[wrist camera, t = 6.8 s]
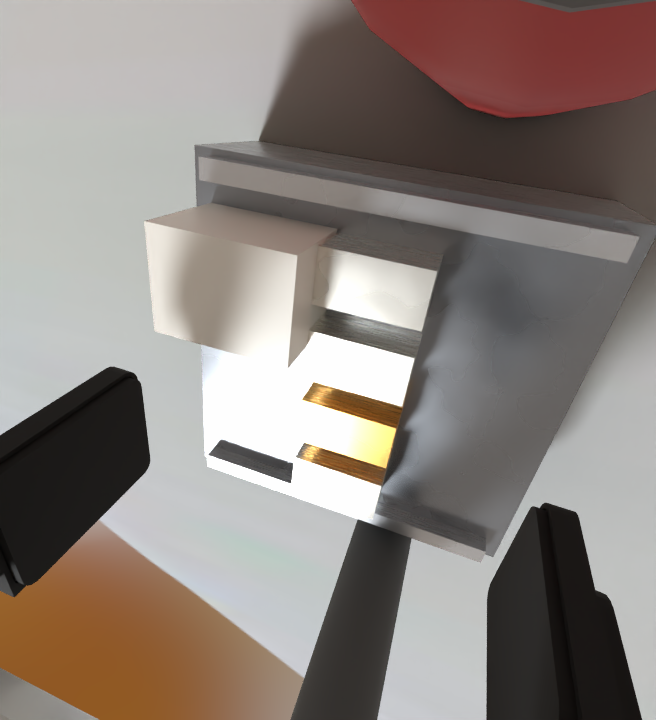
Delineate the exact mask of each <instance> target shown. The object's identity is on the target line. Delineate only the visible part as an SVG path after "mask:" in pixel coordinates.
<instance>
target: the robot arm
mask: <svg viewBox="0 0 656 720" xmlns="http://www.w3.org/2000/svg"><path fill="white" fill-rule="evenodd" d="M149 464H150V453H149V445H148V436H147V428H146V420H145V412H144V403H143V395H142V387H141V383H140V382H139V381H138V379H137V376H136V375H135V374H134V373H132V372H129V371H126V370H123V369H120V368H116V367H108V368H106V369H105V370H103V371H101V372H100V373H98V374H97V375H95V376H93V377H92V378H90V379H89V380H87V381H86V382H84V383H82V384H81V385H79V386H78V387H76V388H74V389H73V390H71V391H70V392H68V393H67V394H65V395H63V396H62V397H60V398H59V399H57V400H55V401H54V402H52V403H51V404H49V405H48V406H46V407H44V408H43V409H41V410H40V411H38V412H36V413H35V414H33V415H32V416H30V417H29V418H27V419H25V420H24V421H22V422H21V423H19V424H17V425H16V426H14V427H13V428H11V429H10V430H8V431H6V432H5V433H3V434H2V435H0V591H2V592H4V593H6V594H8V595H10V596H12V597H15V596H16V595H17V594H18V593H19V592H20V591H21V590H22V589H23V588H24V587H25V586H26V585H27V586H28V585H32V584H33V583H35V582H36V581H38V579H40V578H41V577H42V576H43V575H44V574H45V573H46V572H47V571H48V570H49V569H50V568H51V567H52V566H53V565H54V564H55V563H56V562H57V561H58V560H59V559H60V558H61V557H62V556H63V555H64V554H65V553H66V552H67V551H68V550H69V548H71V547H72V546H73V545H74V544H75V543H76V542H77V541H78V540H79V539H80V538H81V537H82V536H83V535H84V534H85V532H87V530H89V528H91V527H92V526H93V525H94V524H95V522H97V521H98V520H99V519H100V518H101V517H102V516H103V515H104V514H105V513H106V512H107V511H108V510H109V509H110V508H111V507H112V506H113V505H114V504H115V503H116V501H117V500H118V499H119V498H120V497H121V496H122V495H123V494H124V493H125V492H126V491H127V490H128V489H129V488H130V487H131V486H132V485H133V484H134V483H135V482H136V481H137V480H138V479H139V478H140V477H141V476H142V475H143V474H144V473H145V472H146V471H147V469H148V467H149ZM0 720H98V719H96V718H94V717H93V716H91V715H89V714H87V713H85V712H83V711H81V710H79V709H77V708H76V707H74V706H72V705H70V704H68V703H66V702H64V701H62V700H60V699H58V698H57V697H55V696H53V695H51V694H49V693H47V692H45V691H43V690H41V689H39V688H38V687H36V686H33V685H32V684H30V683H28V682H26V681H24V680H22V679H20V678H18V677H16V676H14V675H13V674H11V673H9V672H7V671H5V670H3V669H1V668H0ZM487 720H642V718H641V714H640V710H639V706H638V702H637V698H636V694H635V691H634V687H633V683H632V679H631V675H630V671H629V667H628V663H627V659H626V655H625V651H624V648H623V644H622V640H621V636H620V632H619V628H618V624H617V620H616V616H615V612H614V609H613V606H612V604H611V601H610V599H609V598H608V597H607V595H606V594H603V593H601V592H599V591H596V590H595V587H594V583H593V578H592V574H591V570H590V565H589V561H588V556H587V552H586V548H585V543H584V539H583V534H582V530H581V526H580V521H579V517H578V515H577V513H576V512H574V511H571V510H568V509H564V508H561V507H558V506H555V505H552V504H549V503H544V504H542V506H541V507H540V508H537V507H534V506H533V507H531V508H530V510H529V512H528V514H527V515H526V517H525V519H524V521H523V523H522V525H521V527H520V529H519V531H518V532H517V534H516V536H515V538H514V540H513V542H512V544H511V546H510V548H509V549H508V551H507V553H506V555H505V557H504V559H503V561H502V563H501V565H500V566H499V568H498V570H497V572H496V574H495V576H494V578H493V580H492V582H491V584H490V587H489V591H488V597H487Z"/></svg>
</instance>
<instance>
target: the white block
mask: <svg viewBox="0 0 656 720" xmlns="http://www.w3.org/2000/svg"><path fill="white" fill-rule="evenodd" d="M144 224H145V235H146V246H147V256H148V267H149V278H150V288H151V299H152V309H153V320H154V331H156V332H159V333H163V334H166V335H170V336H173V337H177V338H180V339H184V340H187V341H191V342H194V343H198V344H201V345H205V346H208V347H212V348H215V349H218V350H222V351H225V352H229V353H232V354H236V355H239V356H243V357H246V358H250V359H253V360H257V361H260V362H264V363H267V364H271V365H274V366H278V367H281V368H285V369H288V368H289V367H290V366H291V365H292V363H293V362H294V361H295V360H296V359H297V357H298V356H299V355H300V354H301V353H302V351H303V350H304V349H305V348H306V347H307V341H308V331H309V330H310V328H311V327H312V326H313V325H314V324H315V323H316V322H317V321H318V319H319V318H320V317H321V316H322V315H323V314H324V313H325V312H326V310H327V308H325V307H321V306H317V305H313V304H312V295H313V286H314V277H315V268H316V259H317V250H318V245H319V244H321V243H322V242H324V241H325V240H327V239H328V238H330V237H331V236H332V235H334V234H335V233H337V229H336V228H331V227H326V226H321V225H316V224H312V223H307V222H302V221H297V220H292V219H287V218H282V217H278V216H273V215H268V214H263V213H258V212H253V211H248V210H244V209H239V208H234V207H229V206H224V205H219V204H215V203H209V204H205V205H201V206H198V207H194V208H190V209H187V210H183V211H179V212H176V213H172V214H169V215H165V216H161V217H158V218H154V219H150V220H147V221H144Z"/></svg>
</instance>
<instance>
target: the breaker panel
mask: <svg viewBox="0 0 656 720" xmlns="http://www.w3.org/2000/svg"><path fill="white" fill-rule="evenodd" d="M195 168H196V199H197V207H198V206H201V205H205V204H209V203H215V204H219V205H224V206H229V207H234V208H239V209H244V210H248V211H253V212H258V213H263V214H268V215H273V216H278V217H282V218H287V219H292V220H297V221H302V222H307V223H312V224H316V225H321V226H326V227H331V228H336V229H337V233H335V234H334V235H332V236H331V237H330V238H328V239H327V240H325V241H324V242H322V243H321V244H319V245H318V250H317V259H316V268H315V277H314V286H313V295H312V304H313V305H317V306H321V307H325V308H327V310H326V312H325V313H324V314H323V315H322V316H321V317H320V318H319V319H318V321H317V322H316V323H315V324H314V325H313V326H312V327H311V328H310V330H309V331H308V341H307V347H306V348H305V349H304V350H303V351H302V353H301V354H300V355H299V356H298V357H297V359H296V360H295V361H294V362H293V363H292V365H291V366H290V367H289V368H288V369H285V368H281V367H278V366H274V365H271V364H267V363H264V362H260V361H257V360H253V359H250V358H246V357H243V356H239V355H236V354H232V353H229V352H225V351H222V350H218V349H215V348H212V347H208V346H205V345H201V351H202V382H203V412H204V443H205V457H207V466H209V467H212V468H215V469H217V470H220V471H223V472H226V473H229V474H232V475H234V476H237V477H240V478H243V479H246V480H249V481H251V482H254V483H257V484H260V485H263V486H266V487H268V488H271V489H274V490H277V491H280V492H282V493H285V494H288V495H291V496H294V497H297V498H299V499H302V500H305V501H308V502H311V503H314V504H316V505H319V506H322V507H325V508H328V509H331V510H333V511H336V512H339V513H342V514H345V515H348V516H350V517H353V518H356V519H359V520H362V521H364V522H367V523H370V524H373V525H376V526H379V527H381V528H384V529H387V530H390V531H393V532H396V533H398V534H401V535H404V536H407V537H410V538H413V539H415V540H418V541H421V542H424V543H427V544H429V545H432V546H435V547H438V548H441V549H444V550H446V551H449V552H452V553H455V554H458V555H461V556H463V557H466V558H469V559H472V560H475V561H478V562H480V563H481V561H482V559H483V557H484V555H485V554H486V555H489V556H492V557H493V556H494V554H495V552H496V550H497V549H498V547H499V545H500V543H501V541H502V539H503V537H504V535H505V533H506V531H507V529H508V527H509V525H510V523H511V521H512V519H513V517H514V515H515V513H516V511H517V509H518V507H519V505H520V503H521V501H522V499H523V497H524V495H525V493H526V491H527V489H528V487H529V485H530V483H531V481H532V480H533V478H534V476H535V474H536V472H537V470H538V468H539V466H540V464H541V462H542V460H543V458H544V456H545V454H546V452H547V450H548V448H549V446H550V444H551V442H552V440H553V438H554V436H555V434H556V432H557V430H558V428H559V426H560V424H561V422H562V420H563V418H564V416H565V414H566V413H567V411H568V409H569V407H570V405H571V403H572V401H573V399H574V397H575V395H576V393H577V391H578V389H579V387H580V385H581V383H582V381H583V379H584V377H585V375H586V373H587V371H588V369H589V367H590V365H591V363H592V361H593V359H594V357H595V355H596V353H597V351H598V349H599V347H600V346H601V344H602V342H603V340H604V338H605V336H606V334H607V332H608V330H609V328H610V326H611V324H612V322H613V320H614V318H615V316H616V314H617V312H618V310H619V308H620V306H621V304H622V302H623V300H624V298H625V296H626V294H627V292H628V290H629V288H630V286H631V284H632V282H633V280H634V279H635V277H636V275H637V273H638V271H639V269H640V267H641V265H642V263H643V261H644V259H645V257H646V255H647V253H648V251H649V249H650V247H651V245H652V243H653V241H654V239H655V237H656V224H655V223H654V222H652V221H650V220H649V219H647V218H645V217H643V216H642V215H640V214H638V213H637V212H635V211H633V210H632V209H630V208H628V207H626V206H625V205H623V204H621V203H620V202H618V201H614V200H608V199H602V198H596V197H590V196H584V195H578V194H572V193H566V192H560V191H554V190H548V189H542V188H536V187H530V186H524V185H518V184H512V183H506V182H500V181H494V180H488V179H482V178H477V177H471V176H465V175H459V174H453V173H447V172H441V171H435V170H429V169H423V168H417V167H411V166H405V165H399V164H393V163H387V162H381V161H375V160H369V159H363V158H357V157H351V156H345V155H339V154H333V153H327V152H321V151H315V150H309V149H303V148H297V147H291V146H285V145H279V144H273V143H267V142H261V141H249V142H233V143H217V144H201V145H195Z"/></svg>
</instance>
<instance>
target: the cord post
mask: <svg viewBox="0 0 656 720" xmlns="http://www.w3.org/2000/svg"><path fill="white" fill-rule="evenodd" d="M410 544H411V538H410V537H407V536H404V535H401V534H398V533H396V532H393V531H390V530H387V529H384V528H381V527H379V526H376V525H373V524H370V523H367V522H364V521H362V520H359V519H358V520H357V523H356V526H355V529H354V532H353V535H352V538H351V541H350V544H349V547H348V550H347V553H346V556H345V559H344V562H343V565H342V568H341V571H340V574H339V577H338V580H337V583H336V586H335V589H334V592H333V595H332V598H331V601H330V604H329V607H328V610H327V613H326V616H325V619H324V622H323V624H322V627H321V630H320V633H319V636H318V639H317V642H316V645H315V648H314V651H313V654H312V657H311V660H310V663H309V666H308V669H307V672H306V675H305V678H304V681H303V684H302V687H301V690H300V693H299V696H298V699H297V702H296V705H295V708H294V711H293V714H292V717H291V720H377V717H378V712H379V706H380V701H381V696H382V691H383V685H384V680H385V675H386V670H387V664H388V659H389V654H390V649H391V643H392V638H393V633H394V628H395V622H396V617H397V612H398V607H399V601H400V596H401V591H402V586H403V580H404V575H405V570H406V565H407V559H408V554H409V549H410Z"/></svg>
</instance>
